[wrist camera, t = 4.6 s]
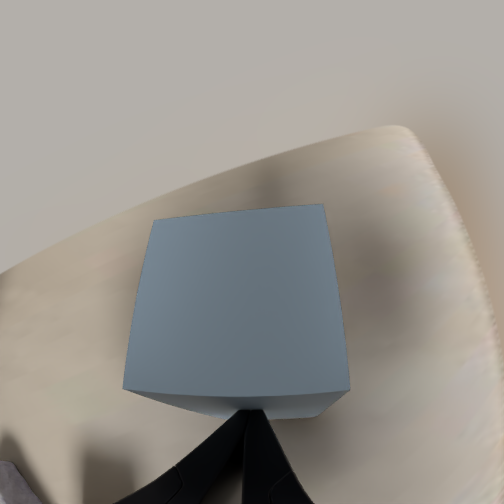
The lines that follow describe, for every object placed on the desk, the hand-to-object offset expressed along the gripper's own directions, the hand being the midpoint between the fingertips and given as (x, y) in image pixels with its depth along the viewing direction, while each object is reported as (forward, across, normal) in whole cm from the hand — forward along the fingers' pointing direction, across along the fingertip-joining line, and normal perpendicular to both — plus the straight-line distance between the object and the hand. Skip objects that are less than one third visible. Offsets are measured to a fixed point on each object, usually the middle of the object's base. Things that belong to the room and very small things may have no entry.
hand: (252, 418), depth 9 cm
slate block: (+7, 0, -4) cm, 8 cm away
